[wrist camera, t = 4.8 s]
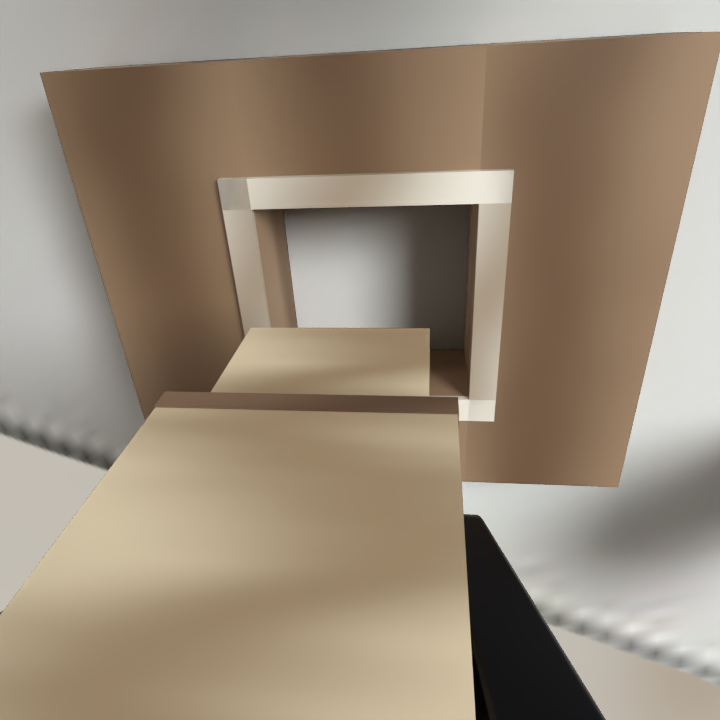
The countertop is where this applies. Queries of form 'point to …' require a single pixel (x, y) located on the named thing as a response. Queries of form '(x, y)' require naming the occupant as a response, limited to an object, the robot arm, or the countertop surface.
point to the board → (407, 188)
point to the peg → (263, 551)
